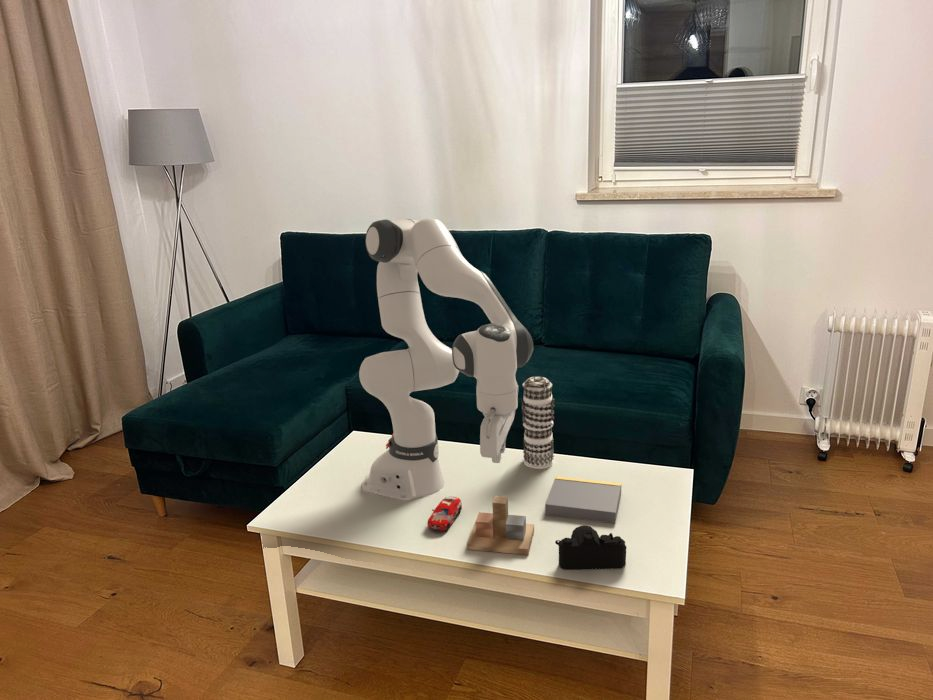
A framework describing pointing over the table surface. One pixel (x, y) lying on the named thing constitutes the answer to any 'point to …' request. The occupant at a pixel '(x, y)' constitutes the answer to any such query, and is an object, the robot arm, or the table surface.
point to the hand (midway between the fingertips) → (498, 456)
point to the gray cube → (515, 527)
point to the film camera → (591, 550)
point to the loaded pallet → (501, 542)
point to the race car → (445, 513)
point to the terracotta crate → (484, 525)
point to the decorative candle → (538, 422)
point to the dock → (584, 499)
